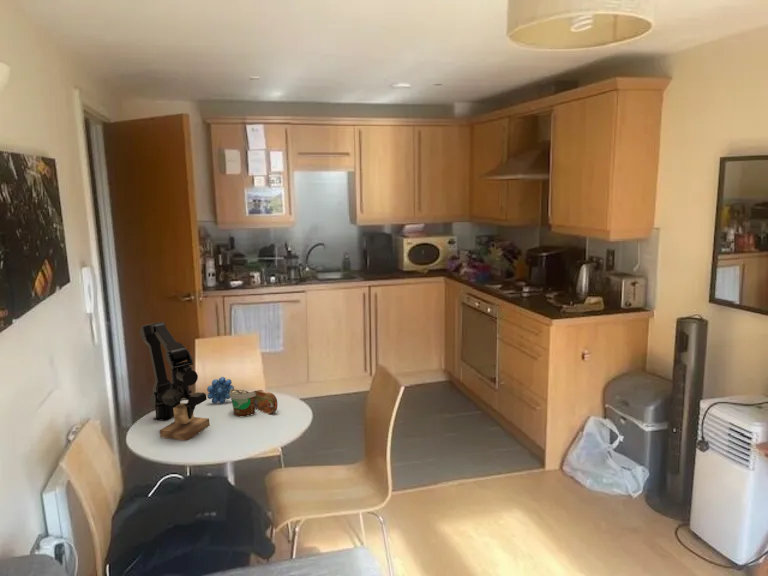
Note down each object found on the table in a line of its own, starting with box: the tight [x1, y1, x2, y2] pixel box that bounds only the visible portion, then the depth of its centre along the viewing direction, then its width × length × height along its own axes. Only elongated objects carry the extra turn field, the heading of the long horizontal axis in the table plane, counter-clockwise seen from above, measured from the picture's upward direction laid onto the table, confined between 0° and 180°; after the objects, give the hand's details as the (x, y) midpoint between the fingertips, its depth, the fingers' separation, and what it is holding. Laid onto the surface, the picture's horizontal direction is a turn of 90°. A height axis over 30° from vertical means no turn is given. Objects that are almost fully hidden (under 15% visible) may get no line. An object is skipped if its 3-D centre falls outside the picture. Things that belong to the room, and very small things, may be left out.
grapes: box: [206, 376, 235, 404], centre depth 252 cm, size 12×7×12 cm, turn 97°
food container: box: [229, 387, 256, 417], centre depth 238 cm, size 12×6×10 cm, turn 62°
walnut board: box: [159, 416, 211, 442], centre depth 223 cm, size 12×14×3 cm
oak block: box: [173, 402, 195, 424], centre depth 222 cm, size 5×5×6 cm
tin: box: [254, 389, 278, 415], centre depth 241 cm, size 15×3×8 cm, turn 48°
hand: (184, 418), depth 223 cm, fingers closed on oak block, 5 cm apart
